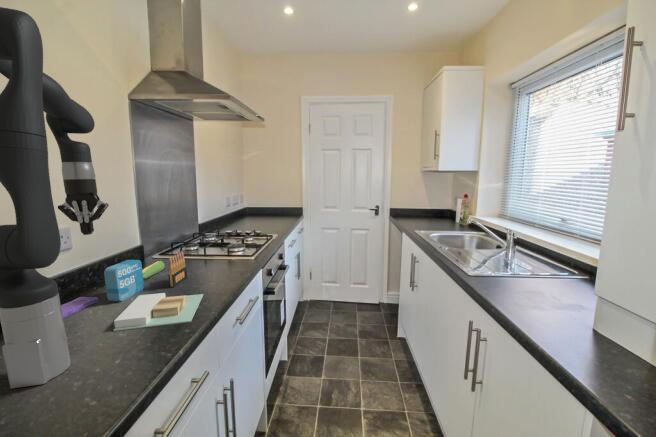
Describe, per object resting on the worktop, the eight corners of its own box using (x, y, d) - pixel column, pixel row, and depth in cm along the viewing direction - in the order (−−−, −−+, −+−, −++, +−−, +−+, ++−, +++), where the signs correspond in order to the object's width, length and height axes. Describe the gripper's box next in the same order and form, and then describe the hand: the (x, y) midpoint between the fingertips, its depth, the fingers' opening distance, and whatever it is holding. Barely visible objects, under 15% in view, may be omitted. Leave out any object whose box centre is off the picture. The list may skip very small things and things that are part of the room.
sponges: (98, 302, 103) (97, 297, 103) (61, 320, 91) (60, 314, 91) (81, 301, 104) (80, 296, 104) (42, 318, 92) (41, 313, 92)
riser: (146, 324, 85) (145, 317, 85) (115, 328, 84) (114, 320, 83) (165, 298, 103) (165, 292, 102) (140, 301, 101) (139, 295, 101)
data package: (119, 303, 101) (115, 269, 99) (107, 302, 102) (102, 269, 100) (145, 289, 113) (141, 258, 111) (134, 289, 113) (130, 258, 112)
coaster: (178, 314, 91) (177, 307, 90) (153, 317, 89) (152, 309, 89) (186, 302, 99) (185, 295, 99) (163, 304, 98) (162, 297, 98)
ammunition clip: (174, 287, 114) (170, 257, 112) (169, 287, 114) (166, 257, 112) (187, 277, 124) (185, 250, 123) (183, 277, 124) (180, 250, 123)
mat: (190, 322, 87) (190, 320, 87) (113, 331, 83) (113, 329, 83) (203, 294, 106) (203, 293, 106) (141, 301, 102) (141, 300, 102)
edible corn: (167, 268, 138) (166, 258, 138) (142, 284, 119) (141, 273, 118) (156, 268, 138) (155, 259, 138) (129, 284, 119) (128, 273, 118)
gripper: (44, 178, 84) (54, 238, 87) (97, 177, 87) (106, 235, 90) (62, 178, 92) (70, 233, 94) (110, 177, 94) (117, 230, 97)
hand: (88, 234), depth 92 cm, fingers closed
